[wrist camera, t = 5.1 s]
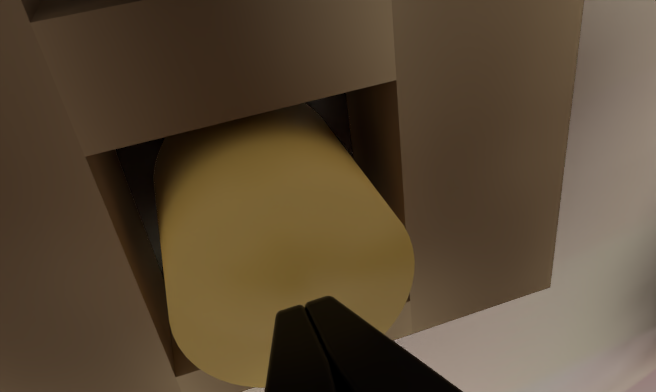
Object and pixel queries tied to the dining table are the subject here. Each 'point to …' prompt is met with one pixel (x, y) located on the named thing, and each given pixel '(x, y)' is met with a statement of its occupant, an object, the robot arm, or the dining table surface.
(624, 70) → the dining table surface
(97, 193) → the brown button tray
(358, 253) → the button amber
